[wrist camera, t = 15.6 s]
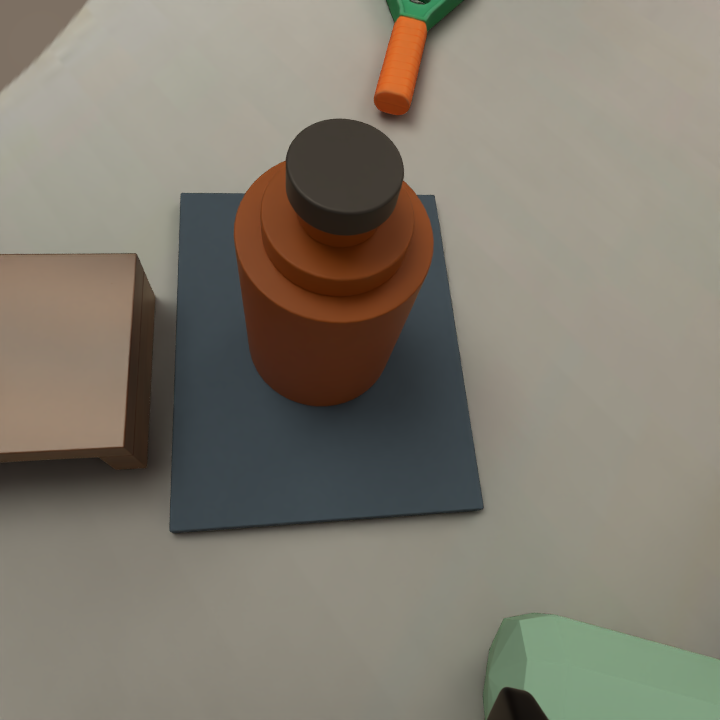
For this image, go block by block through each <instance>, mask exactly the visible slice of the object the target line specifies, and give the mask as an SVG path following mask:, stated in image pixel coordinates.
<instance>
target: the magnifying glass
mask: <svg viewBox="0 0 720 720" xmlns="http://www.w3.org/2000/svg"><path fill="white" fill-rule="evenodd" d="M386 1H387V4H388V6H389V9H390V11H391V14H392V17H393V19H394V22H395V24H394V27H393V30H392V34H391V37H390V41H389V44H388V48H387V51H386V55H385V59H384V63H383V66H382V70H381V73H380V77H379V80H378V84H377V88H376V92H375V95H374V103H375V105H376V107H377V108H378V109H379V110H380V111H382V112H386V113H389V114H394V115H402V114H405V113H406V112H407V111H408V110H409V108H410V105H411V101H412V96H413V93H414V88H415V84H416V80H417V75H418V72H419V67H420V62H421V59H422V54H423V49H424V46H425V41H426V37H427V31H429V30H430V29H431V28H432V27H433V26H434V25H436V24H437V23H438V22H439V21H440V20H441V19H443V18H444V17H445V16H446V15H447V14H448V13H450V12H451V11H452V10H453V9H454V8H455V7H456V6H458V5H459V4H460V3H461V2H462V1H463V0H418V1H420V2H423V3H424V5H419V4H415V3H413V2H411V1H410V0H386Z"/></svg>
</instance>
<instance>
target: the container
mask: <svg viewBox="0 0 720 720" xmlns="http://www.w3.org/2000/svg"><path fill="white" fill-rule="evenodd" d="M504 687H511V688H516V689H520V690H525V691H527V692H529V693H530V694H531V695H532V696H533V697H534V698H535V700H536V701H537V703H538V704H539V706H540V707H541V709H542V710H543V712H544V713H545V715H546V716H547V718H548V719H549V720H720V660H719V659H715V658H712V657H708V656H704V655H701V654H697V653H693V652H690V651H686V650H682V649H679V648H675V647H671V646H668V645H664V644H660V643H657V642H653V641H649V640H646V639H642V638H638V637H635V636H631V635H627V634H624V633H620V632H617V631H613V630H609V629H606V628H602V627H598V626H595V625H591V624H587V623H584V622H580V621H576V620H573V619H569V618H565V617H562V616H558V615H553V614H540V613H530V614H525V615H520V616H514V617H509V618H504V619H503V621H502V623H501V626H500V628H499V630H498V632H497V634H496V636H495V638H494V640H493V643H492V645H491V647H490V649H489V656H488V663H487V670H486V677H485V684H484V690H483V704H484V713H485V720H487V718H488V716H489V713H490V711H491V709H492V707H493V705H494V703H495V701H496V699H497V696H498V694H499V692H500V691H501V689H502V688H504Z"/></svg>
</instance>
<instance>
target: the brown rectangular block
mask: <svg viewBox="0 0 720 720" xmlns="http://www.w3.org/2000/svg"><path fill="white" fill-rule="evenodd" d="M154 315H155V295H154V293H153V290H152V288H151V286H150V283H149V281H148V279H147V276H146V274H145V272H144V269H143V267H142V265H141V262H140V260H139V258H138V256H137V254H136V253H121V254H0V462H18V461H36V460H55V459H73V458H91V457H99V458H100V459H101V460H103V461H104V462H105V463H107V464H108V465H110V466H111V467H112V468H114V469H115V470H122V469H140V468H147V459H148V438H149V418H150V397H151V377H152V356H153V335H154Z"/></svg>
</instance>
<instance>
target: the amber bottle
mask: <svg viewBox="0 0 720 720" xmlns="http://www.w3.org/2000/svg"><path fill="white" fill-rule="evenodd" d="M403 178H404V166H403V162H402V158H401V156H400V153H399V151H398V149H397V148H396V146H395V145H394V144H393V142H392V141H391V140H390V139H389V138H388V137H387V136H386V135H385V134H383V133H382V132H381V131H379V130H378V129H376V128H374V127H372V126H370V125H368V124H365V123H363V122H359V121H356V120H350V119H329V120H324V121H320V122H317V123H315V124H312V125H311V126H309V127H307V128H305V129H304V130H303V131H301V132H300V133H299V134H298V135H297V136H296V138H295V139H294V140H293V141H292V143H291V145H290V147H289V149H288V152H287V156H286V161H284V162H281V163H279V164H278V165H276V166H274V167H272V168H271V169H269V170H268V171H266V172H265V173H264V174H262V175H261V176H260V177H259V178H258V179H257V180H256V181H255V182H254V183H253V184H252V185H251V187H250V188H249V189H248V191H247V192H246V193H245V195H244V197H243V199H242V201H241V202H240V205H239V208H238V210H237V213H236V218H235V222H234V243H235V251H236V258H237V265H238V272H239V279H240V286H241V293H242V300H243V307H244V314H245V322H246V329H247V336H248V343H249V350H250V354H251V358H252V361H253V363H254V366H255V368H256V369H257V371H258V373H259V375H260V376H261V377H262V378H263V380H264V381H265V382H266V383H267V384H268V385H269V386H270V387H271V388H272V389H273V390H275V391H276V392H277V393H279V394H280V395H282V396H284V397H286V398H287V399H289V400H292V401H295V402H297V403H301V404H305V405H310V406H332V405H338V404H342V403H345V402H348V401H350V400H353V399H355V398H356V397H358V396H360V395H362V394H363V393H364V392H366V391H367V390H368V389H369V388H370V387H371V386H372V385H373V384H374V383H375V382H376V381H377V380H378V378H379V377H380V376H381V374H382V372H383V370H384V368H385V366H386V364H387V362H388V360H389V357H390V355H391V353H392V351H393V348H394V346H395V344H396V342H397V340H398V337H399V335H400V333H401V331H402V329H403V326H404V324H405V322H406V320H407V318H408V315H409V313H410V311H411V309H412V306H413V304H414V302H415V300H416V298H417V295H418V293H419V291H420V289H421V287H422V284H423V282H424V280H425V278H426V276H427V273H428V270H429V268H430V265H431V261H432V256H433V246H434V240H433V231H432V227H431V223H430V219H429V217H428V214H427V212H426V209H425V208H424V206H423V204H422V202H421V201H420V199H419V198H418V196H417V195H416V194H415V192H414V191H413V190H412V189H411V188H410V187H409V186H408V185H407V184H406V183H405V182H404V181H403Z"/></svg>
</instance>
